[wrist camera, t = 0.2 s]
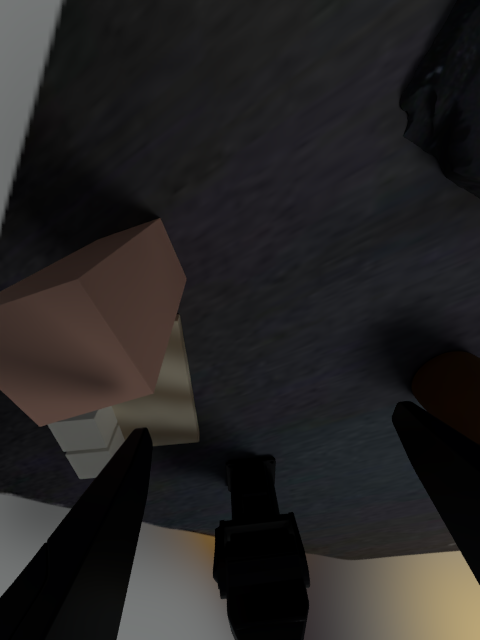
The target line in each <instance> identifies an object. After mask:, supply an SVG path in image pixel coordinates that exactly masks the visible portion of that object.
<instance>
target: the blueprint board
mask: <svg viewBox="0 0 480 640" xmlns="http://www.w3.org/2000/svg"><path fill="white" fill-rule="evenodd" d="M112 409H113V411H114V414H115V416H116V419H117V421H118V422H117V424H116V425H119V426H120V429H121V432H122V434H123V437H124V439H125V440H126V439H127V437H128V436H129V435H130V433H131V432H132V431H133V430H134V429H135V428H141V427H146V428H148V430H149V433H150V436H151V439H152V442H153V446H161V445H172V444H182V443H193V442H199V434H200V433H199V427H198V421H197V415H196V409H195V403H194V397H193V391H192V385H191V379H190V373H189V367H188V361H187V356H186V350H185V344H184V338H183V332H182V326H181V320H180V314H177V315H176V318H175V321H174V325H173V328H172V332H171V335H170V339H169V342H168V345H167V349H166V352H165V356H164V359H163V363H162V366H161V370H160V373H159V377H158V380H157V384H156V387H155V391H154V394H150V395H147V396H143V397H140V398H137V399H133V400H130V401H126V402H123V403H119V404H116V405H113V406H112Z"/></svg>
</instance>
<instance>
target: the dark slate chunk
mask: <svg viewBox="0 0 480 640" xmlns="http://www.w3.org/2000/svg"><path fill="white" fill-rule="evenodd" d="M400 105H401V108H402V110H403V111H407V112H408V114H409V116H408V118H407V119H408V121H409V122H408V125H407V128H406V131H405V133H404V135H403V137H405V138H407V139H408V140H410V141H411V142H413V143H414V144H416V145H417V146H419V147H420V148H422V149H423V150H424V151H426V152H428V153H430V154H432V155H433V156H435V157H436V158H437V159H438V160H439V163H440V165H441V167H442V170H443V174H444V175H445V177H446V178H448V179H449V180H451V181H452V182H454V183H455V184H456V185H457V186H459V187H461V188H464V189H465V190H467V191H469V192H471V193H472V194H474V195H475V196H477V197H478V198H480V0H457V2H456V4H455V6H454V7H453V9H452V11H451V13H450V15H449V17H448V19H447V21H446V23H445V24H444V26H443V28H442V29H441V31H440V32H439V34H438V35H437V37H436V39H435V40H434V43H433V45H432V47H431V48H430V50H429V51H428V53H427V54H426V55H425V57H424V58H423V60H422V61H421V63H420V65H419V66H418V68H417V70H416V72H415V74H414V76H413V79H412V80H411V82H410V84H409V85H408V87H407V88H406V90H405V91H404V93H403V95H402V97H401V99H400Z"/></svg>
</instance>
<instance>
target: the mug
mask: <svg viewBox="0 0 480 640" xmlns="http://www.w3.org/2000/svg"><path fill="white" fill-rule="evenodd" d="M411 387H412V392H413V395H414V396H415V398H416V399H417V400H418V402H419V403H420V404H421V405H422V406H423V407H424V409H425V410H426V411H427V412H428V413H430V414H432V415H433V416H435V417H436V418H438V419H439V420H441V421H443V422H444V423H446V424H447V425H449V426H450V427H452V428H453V429H455V430H457V431H458V432H460V433H461V434H463V435H464V436H466V437H468V438H469V439H471V440H472V441H474V442H475V443H477V444H479V445H480V358H478V357H476V356H475V355H473V354H470V353H468V352H462V351H452V352H447V353H444V354H441V355H438V356H436V357H434V358H432V359H431V360H429V361H428V362H426V363H425V364H424V365H423V366H422V367H421V368H420V369H419V370H418V371H417V373H416V374H415V376H414V378H413V380H412V386H411Z"/></svg>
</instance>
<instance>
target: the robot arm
mask: <svg viewBox="0 0 480 640" xmlns="http://www.w3.org/2000/svg"><path fill="white" fill-rule="evenodd" d="M392 422H393V425H394V427H395V429H396V431H397V434H398V436H399V438H400V440H401V442H402V445H403V447H404V449H405V451H406V454H407V456H408V458H409V460H410V462H411V464H412V466H413V468H414V470H415V472H416V474H417V475H418V477H419V479H420V481H421V482H422V484H423V486H424V488H425V489H426V491H427V493H428V495H429V496H430V498H431V500H432V502H433V504H434V505H435V507H436V509H437V511H438V512H439V514H440V516H441V518H442V519H443V521H444V523H445V525H446V526H447V528H448V530H449V532H450V534H451V535H452V537H453V539H454V541H455V542H456V544H457V546H458V548H459V549H460V551H461V553H462V555H463V557H464V558H465V560H466V562H467V563H468V565H469V567H470V569H471V570H472V572H473V574H474V576H475V578H476V579H477V581H478V583H479V585H480V445H479V444H477V443H475V442H474V441H472V440H471V439H469V438H468V437H466V436H464V435H463V434H461V433H460V432H458V431H457V430H455V429H453V428H452V427H450V426H449V425H447V424H446V423H444V422H443V421H441V420H439V419H438V418H436V417H435V416H433V415H432V414H430V413H428V412H427V411H425V410H424V409H422V408H421V407H419V406H417V405H416V404H414V403H413V402H410V401H403V402H398V403H397V405H396V407H395V410H394V412H393V415H392ZM152 450H153V442H152V439H151V436H150V433H149V430H148V428H146V427H141V428H135V429H134V430H133V431H132V432H131V433H130V435H129V436H128V437H127V439H126V440H125V441H124V442H123V444H122V445H121V446H120V448H119V449H118V450H117V451H116V453H115V454H114V455H113V456H112V458H111V459H110V460H109V462H108V463H107V464H106V465H105V467H104V468H103V469H102V471H101V472H100V473H99V474H98V476H97V477H96V478H95V480H94V481H93V482H92V483H91V485H90V486H89V487H88V488H87V490H86V491H85V492H84V494H83V495H82V496H81V497H80V499H79V500H78V501H77V503H76V504H75V505H74V506H73V508H72V509H71V510H70V512H69V513H68V514H67V515H66V517H65V518H64V519H63V520H62V522H61V523H60V524H59V526H58V527H57V528H56V530H55V531H54V532H53V533H52V535H51V536H50V537H49V538H48V540H47V543H44V545H43V546H42V547H41V548H40V550H39V551H38V552H37V553H36V555H35V556H34V557H33V559H32V560H31V561H30V562H29V564H28V565H27V566H26V567H25V569H24V570H23V571H22V572H21V574H20V575H19V576H18V577H17V578H16V580H15V581H14V582H13V583H12V585H11V586H10V587H9V588H8V589H7V590H6V592H5V593H4V594H3V595H2V596H1V597H0V640H116V639H117V635H118V630H119V625H120V620H121V616H122V612H123V607H124V602H125V598H126V593H127V588H128V584H129V579H130V574H131V570H132V565H133V560H134V556H135V551H136V546H137V542H138V537H139V532H140V528H141V523H142V519H143V514H144V509H145V505H146V500H147V494H148V487H149V478H150V468H151V459H152ZM275 466H276V461H275V458H274V457H267V458H256V459H246V460H236V461H228V462H226V471H227V481H228V490H229V491H230V492H231V506H232V520H229V521H224V520H221V521H220V526H219V527H218V528H216V529H215V553H214V565H213V578H214V580H215V581H216V582H217V583H218V589H220V597H221V599H227V614H228V619H229V623H230V628H231V631H232V634H233V636H234V639H235V640H303V639H304V633H305V628H306V622H307V615H308V610H309V600H308V595H307V590H306V588H309V587H310V578H309V570H308V565H307V560H306V555H305V551H304V547H303V544H302V541H301V537H300V534H299V530H298V527H297V523H296V520H295V517H294V513H293V512H289V513H288V514H280V513H279V508H278V502H277V497H276V492H275V486H274V484H275Z"/></svg>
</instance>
